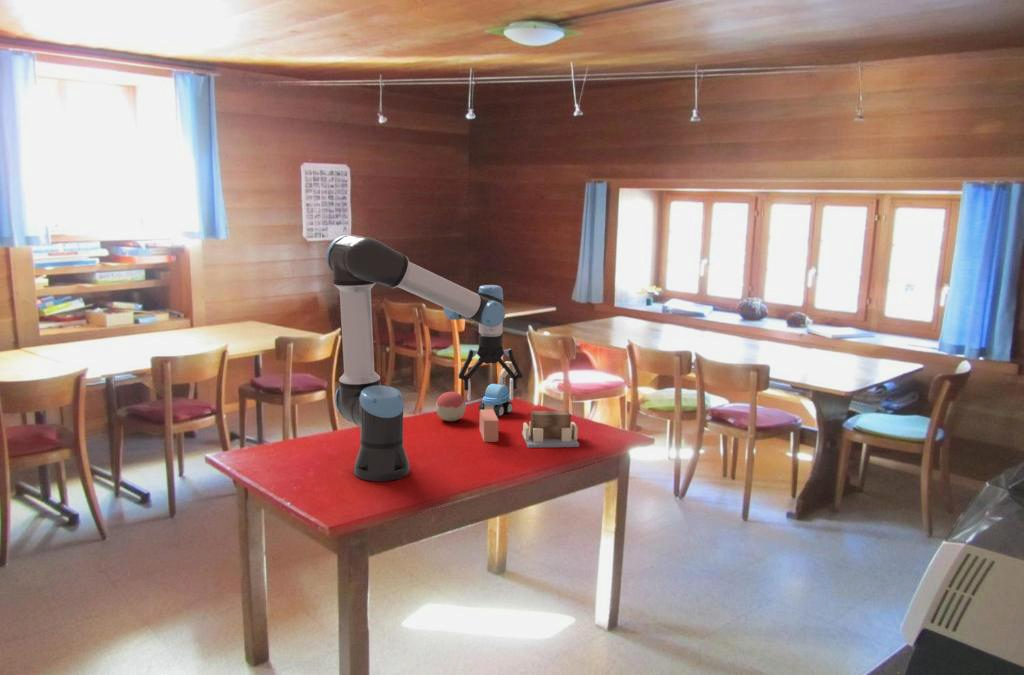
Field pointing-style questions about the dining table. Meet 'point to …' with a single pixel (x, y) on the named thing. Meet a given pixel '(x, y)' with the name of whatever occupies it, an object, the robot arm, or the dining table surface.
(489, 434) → the salmon pink block
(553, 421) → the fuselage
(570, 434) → the jig
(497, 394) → the toy excavator
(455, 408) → the toy
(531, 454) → the dining table surface
